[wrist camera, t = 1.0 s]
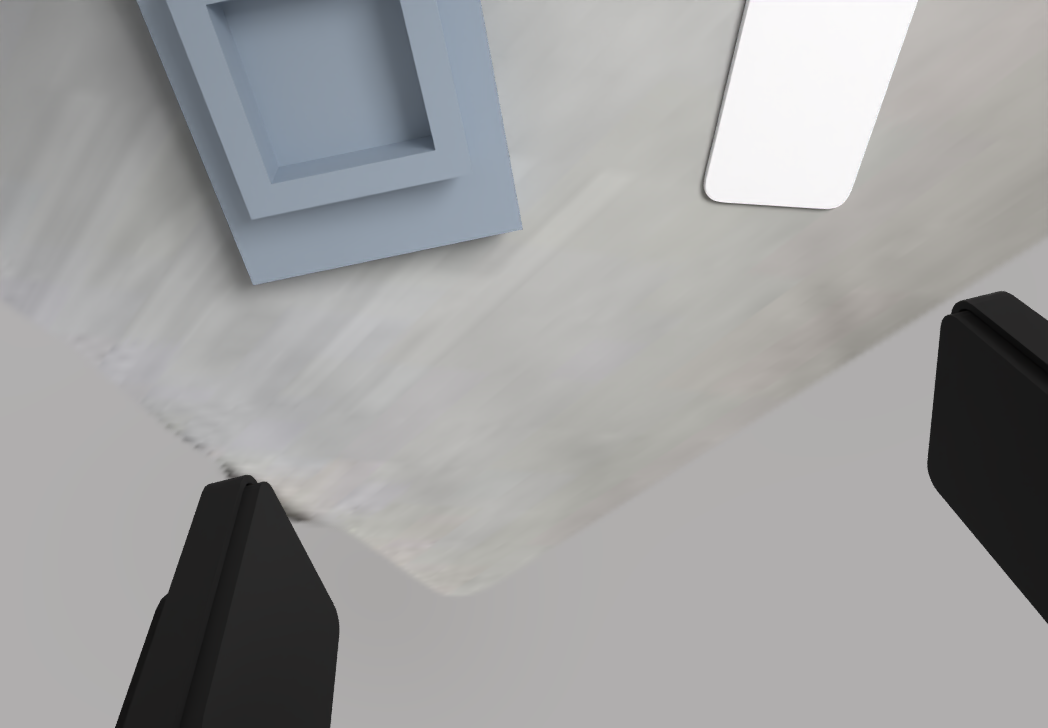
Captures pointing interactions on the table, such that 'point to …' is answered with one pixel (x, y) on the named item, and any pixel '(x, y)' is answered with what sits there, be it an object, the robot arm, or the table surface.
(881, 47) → the smartphone
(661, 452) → the table surface
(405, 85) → the blue-grey fixture board
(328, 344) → the table surface
